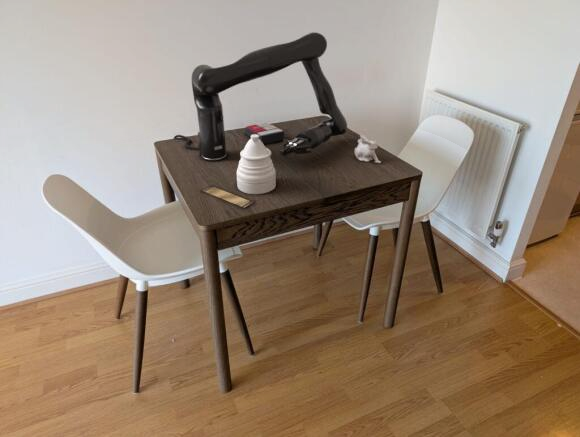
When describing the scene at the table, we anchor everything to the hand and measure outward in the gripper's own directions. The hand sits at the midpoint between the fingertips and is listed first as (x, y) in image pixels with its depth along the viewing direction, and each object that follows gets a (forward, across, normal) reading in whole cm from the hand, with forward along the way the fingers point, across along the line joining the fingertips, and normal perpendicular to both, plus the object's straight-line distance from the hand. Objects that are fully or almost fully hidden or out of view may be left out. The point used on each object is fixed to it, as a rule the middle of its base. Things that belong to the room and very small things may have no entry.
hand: (282, 153), depth 148 cm
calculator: (-22, -27, +7) cm, 36 cm away
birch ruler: (+26, -2, +7) cm, 27 cm away
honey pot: (+14, 0, +7) cm, 16 cm away
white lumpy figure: (-27, +18, +7) cm, 33 cm away
